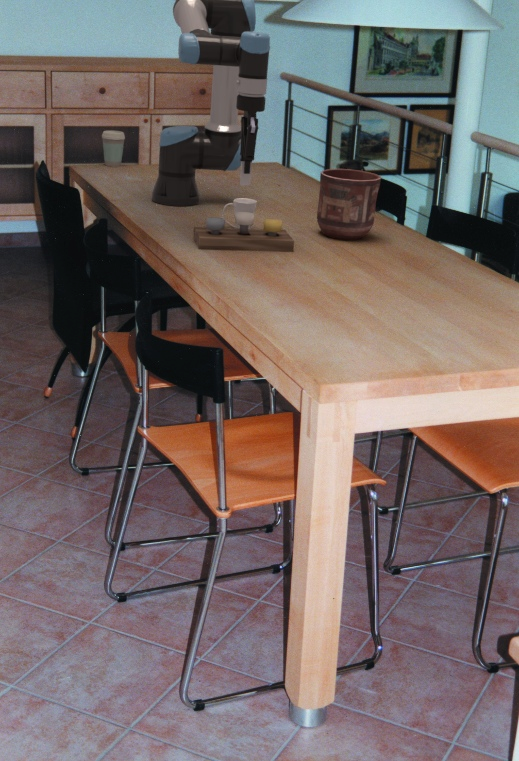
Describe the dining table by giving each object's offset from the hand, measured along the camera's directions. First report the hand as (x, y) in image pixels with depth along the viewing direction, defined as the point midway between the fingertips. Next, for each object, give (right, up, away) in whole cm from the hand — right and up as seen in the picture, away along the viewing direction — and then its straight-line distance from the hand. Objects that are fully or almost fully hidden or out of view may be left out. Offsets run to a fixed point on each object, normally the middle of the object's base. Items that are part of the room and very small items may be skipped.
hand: (245, 184), depth 265 cm
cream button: (0, -12, +5) cm, 13 cm away
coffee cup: (-50, +26, +97) cm, 112 cm away
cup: (-2, -8, +24) cm, 25 cm away
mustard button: (+7, -14, +8) cm, 17 cm away
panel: (-1, -15, +7) cm, 17 cm away
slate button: (-8, -14, +4) cm, 17 cm away
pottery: (+29, -10, +26) cm, 40 cm away
